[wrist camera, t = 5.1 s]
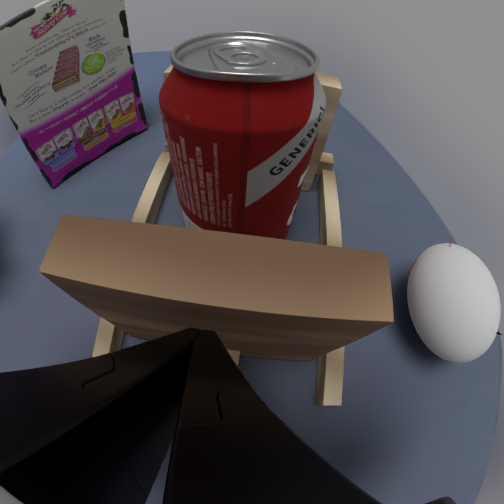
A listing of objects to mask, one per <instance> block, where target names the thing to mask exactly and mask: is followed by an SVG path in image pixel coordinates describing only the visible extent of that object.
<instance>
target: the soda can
mask: <svg viewBox="0 0 504 504" xmlns="http://www.w3.org/2000/svg"><path fill="white" fill-rule="evenodd" d="M171 63H172V65H173V66H174V67H173V68H172V70H171V72H170V73H169V75H168V77H167V78H166V80H165V82H164V84H163V86H162V88H161V90H160V94H159V103H160V109H161V114H162V120H163V126H164V131H165V136H166V141H167V146H168V151H169V156H170V161H171V166H172V171H173V175H174V180H175V184H176V189H177V193H178V198H179V202H180V206H181V210H182V215H183V219H184V223H185V227H186V228H194V229H202V230H211V231H220V232H228V233H236V234H244V235H252V236H260V237H268V238H276V239H284V240H285V238H286V236H287V233H288V230H289V227H290V224H291V221H292V218H293V214H294V211H295V208H296V205H297V202H298V199H299V195H300V192H301V189H302V186H303V183H304V179H305V176H306V173H307V170H308V166H309V163H310V160H311V156H312V153H313V150H314V146H315V143H316V140H317V136H318V133H319V129H320V126H321V122H322V119H323V115H324V112H325V108H326V96H325V93H324V90H323V88H322V86H321V83H320V81H319V79H318V77H317V75H316V73H315V72H316V71H317V69H318V67H319V63H320V59H319V56H318V55H317V53H315V51H314V50H312V49H311V48H309V47H308V46H306V45H304V44H302V43H300V42H298V41H295V40H293V39H290V38H286V37H283V36H278V35H274V34H269V33H262V32H252V31H227V32H217V33H211V34H205V35H201V36H197V37H194V38H191V39H189V40H186V41H184V42H182V43H180V44H179V45H177V46H176V47H175V48H174V49H173V50H172V52H171Z"/></svg>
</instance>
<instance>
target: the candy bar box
mask: <svg viewBox="0 0 504 504" xmlns="http://www.w3.org/2000/svg"><path fill="white" fill-rule="evenodd" d="M0 97H1V100H2V102H3V104H4V106H5V108H6V110H7V112H8V114H9V116H10V119H11V120H12V122H13V124H14V126H15V128H16V130H17V132H18V133H19V135H20V137H21V139H22V141H23V143H24V144H25V146H26V148H27V150H28V151H29V153H30V155H31V157H32V158H33V160H34V161H35V163H36V165H37V166H38V168H39V169H40V171H41V173H42V175H43V176H44V178H45V179H46V181H47V182H48V184H49V185H50V187H51V188H54V187H56V186H58V185H59V184H60V183H62V182H63V181H64V180H66V179H67V178H68V177H70V176H71V175H73V174H74V173H75V172H77V171H78V170H80V169H81V168H82V167H84V166H85V165H87V164H88V163H90V162H91V161H93V160H94V159H96V158H97V157H99V156H101V155H102V154H104V153H105V152H107V151H108V150H110V149H112V148H113V147H115V146H117V145H118V144H120V143H122V142H123V141H125V140H127V139H128V138H130V137H132V136H134V135H136V134H137V133H139V132H141V131H143V130H145V129H146V128H148V126H147V121H146V117H145V112H144V108H143V104H142V99H141V95H140V91H139V86H138V81H137V77H136V72H135V66H134V62H133V57H132V52H131V45H130V39H129V34H128V27H127V20H126V14H125V6H124V0H46V1H44V2H42V3H40V4H38V5H36V6H34V7H32V8H30V9H28V10H26V11H25V12H23V13H21V14H19V15H18V16H16V17H14V18H13V19H11V20H10V21H8V22H6V23H5V24H3V25H2V26H0Z"/></svg>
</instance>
